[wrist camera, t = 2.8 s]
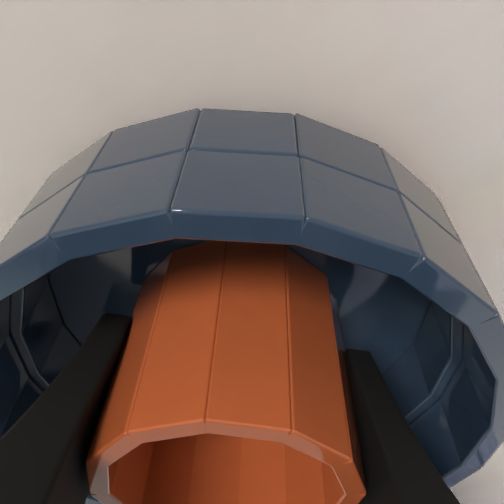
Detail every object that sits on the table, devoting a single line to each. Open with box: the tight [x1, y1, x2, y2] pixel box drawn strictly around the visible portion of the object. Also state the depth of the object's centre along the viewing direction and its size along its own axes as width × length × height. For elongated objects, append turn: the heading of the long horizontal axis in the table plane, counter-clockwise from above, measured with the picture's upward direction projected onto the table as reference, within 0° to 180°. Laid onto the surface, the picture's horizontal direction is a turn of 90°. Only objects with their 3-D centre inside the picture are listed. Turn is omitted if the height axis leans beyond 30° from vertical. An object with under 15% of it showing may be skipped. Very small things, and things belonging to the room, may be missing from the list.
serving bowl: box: [0, 109, 504, 504], centre depth 12 cm, size 12×12×4 cm
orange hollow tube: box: [86, 240, 367, 504], centre depth 11 cm, size 6×6×5 cm
